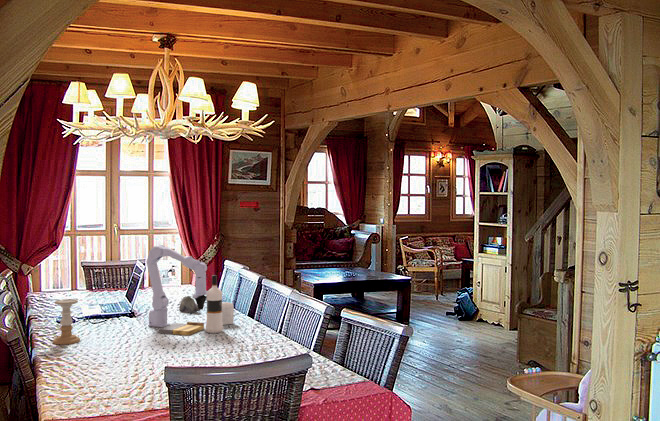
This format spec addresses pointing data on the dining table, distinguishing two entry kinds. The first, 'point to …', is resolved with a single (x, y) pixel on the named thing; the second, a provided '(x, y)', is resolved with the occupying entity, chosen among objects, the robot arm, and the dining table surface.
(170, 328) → the grey flat block
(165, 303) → the robot arm
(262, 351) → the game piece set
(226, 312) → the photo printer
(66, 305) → the candle holder
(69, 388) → the dining table surface
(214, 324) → the vodka
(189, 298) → the mineral rock
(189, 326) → the tan wooden flat block
